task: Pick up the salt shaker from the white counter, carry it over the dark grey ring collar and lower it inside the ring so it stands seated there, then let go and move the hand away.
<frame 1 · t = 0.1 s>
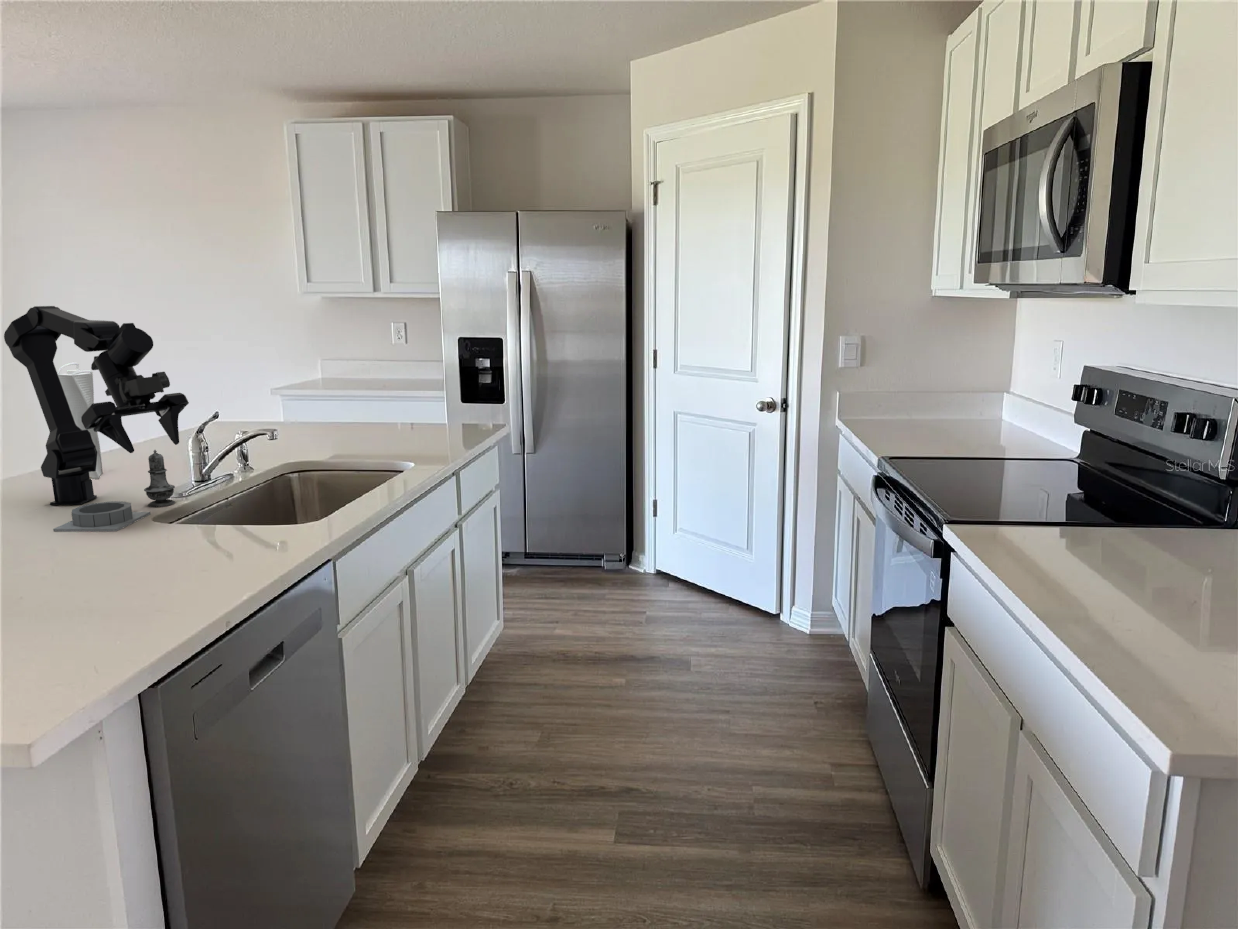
hand: (155, 447, 162), 15 cm above the countertop, tool tilted 35°, fingers open, 9 cm apart
collar: (103, 522, 164), on the countertop
salt shaker: (161, 505, 178), on the countertop
skyscraper: (87, 478, 203), on the countertop
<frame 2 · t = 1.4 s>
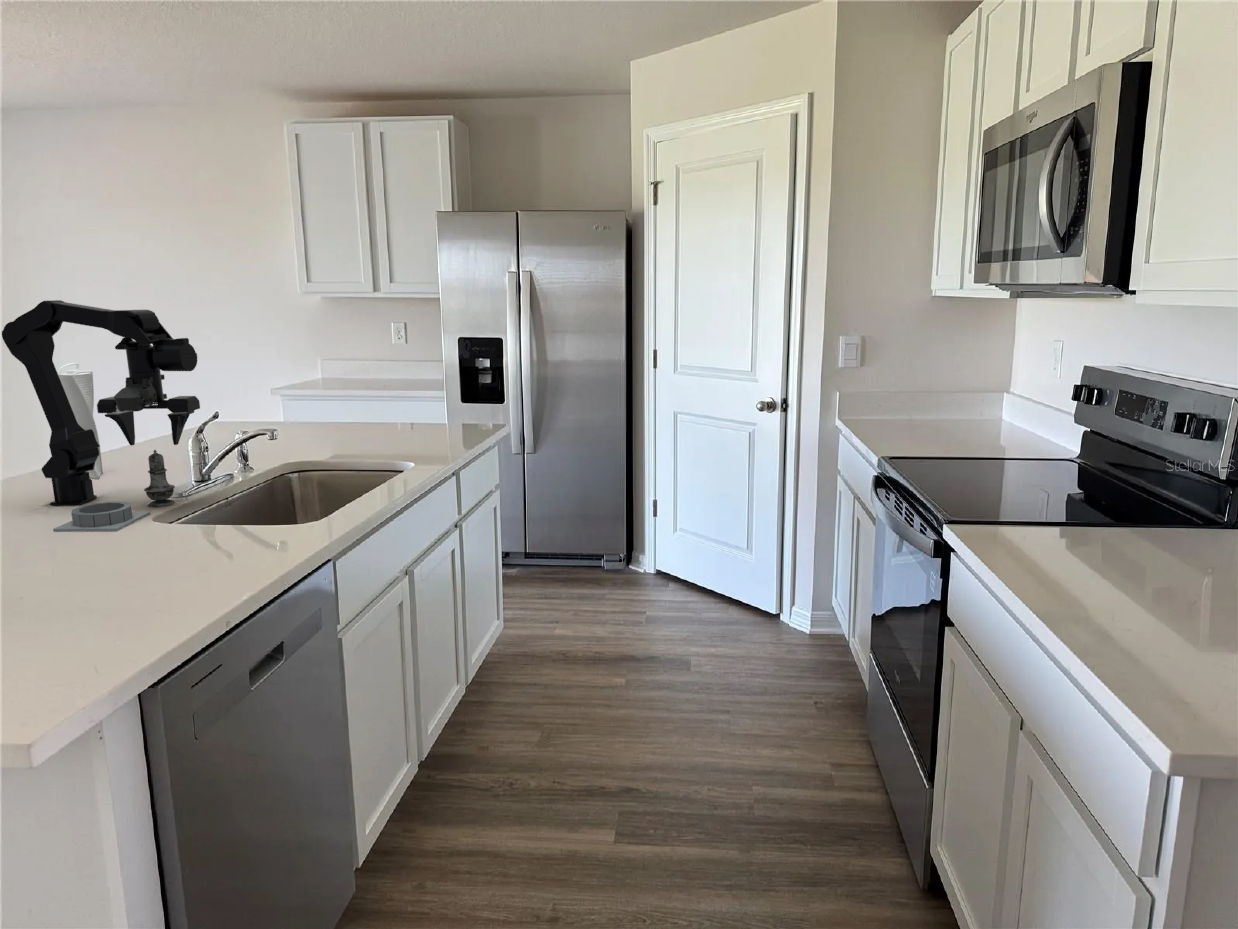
hand: (154, 444, 175), 13 cm above the countertop, tool pointing down, fingers open, 9 cm apart
nothing on the countertop moved.
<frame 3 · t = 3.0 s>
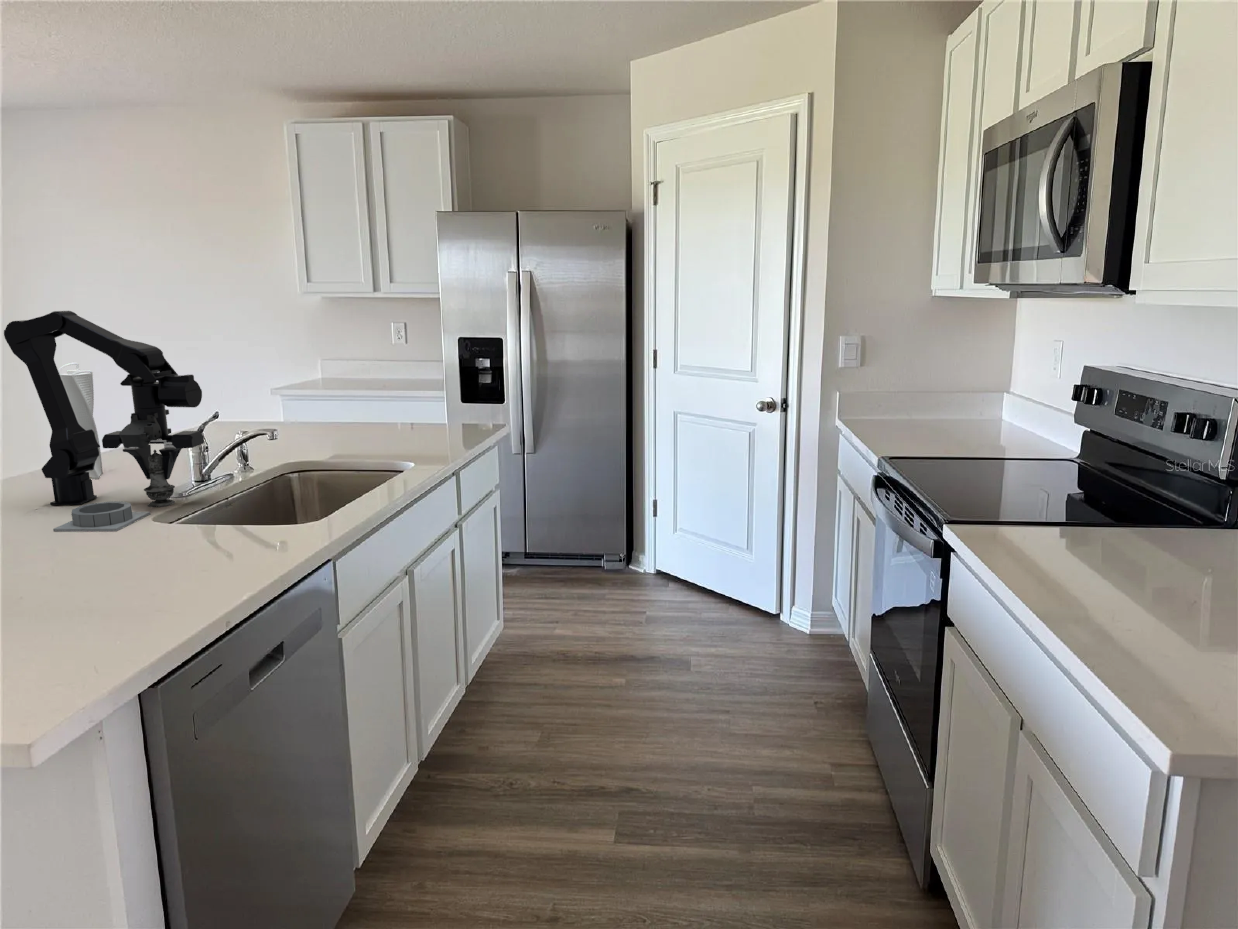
hand: (158, 479, 177), 6 cm above the countertop, tool pointing down, fingers closed on salt shaker, 3 cm apart
salt shaker: (161, 504, 178), on the countertop, touching gripper
everything else where it was.
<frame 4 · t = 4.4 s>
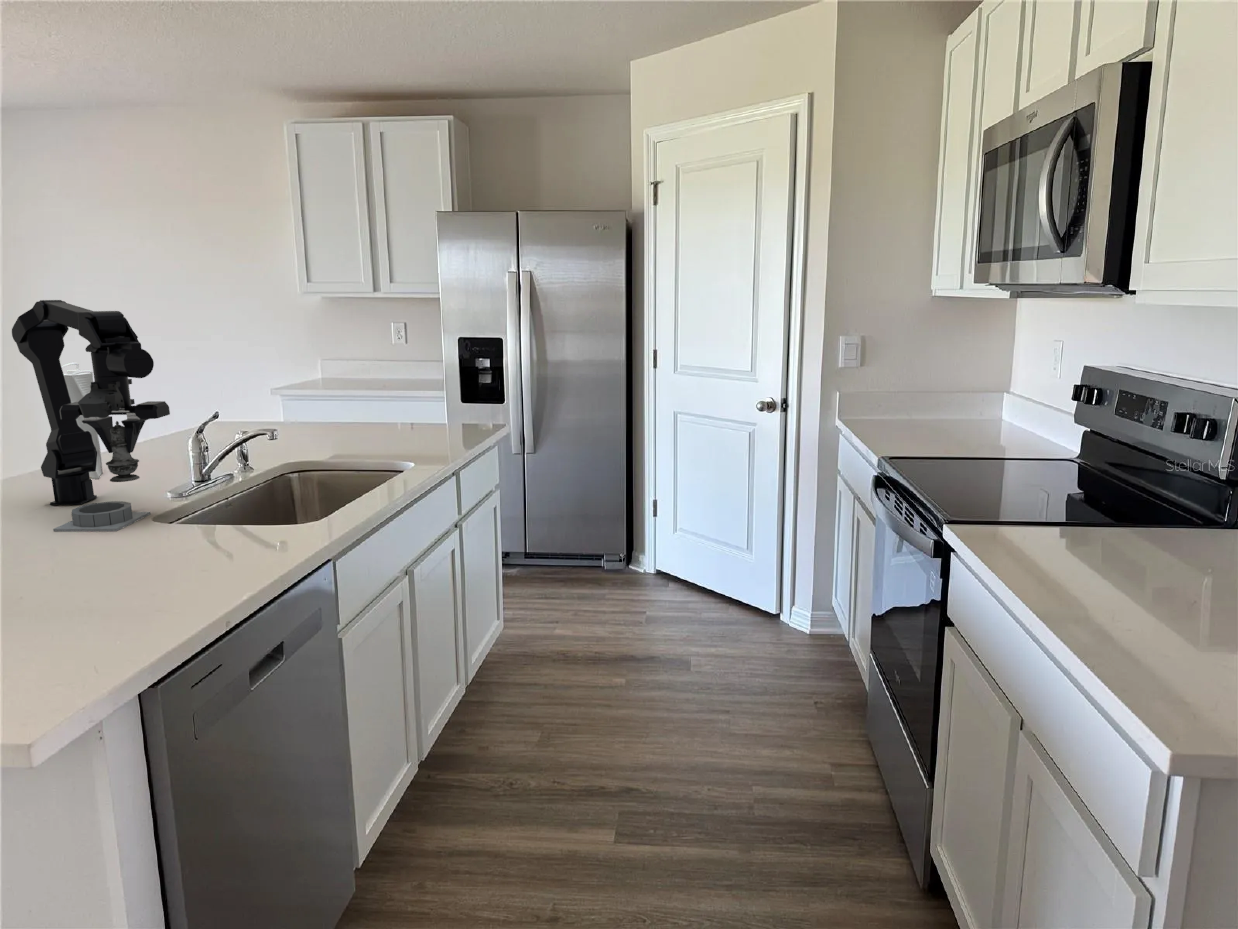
hand: (121, 452, 167), 13 cm above the countertop, tool pointing down, fingers closed on salt shaker, 3 cm apart
salt shaker: (124, 480, 168), point 7 cm above the countertop, touching gripper
everything else where it was.
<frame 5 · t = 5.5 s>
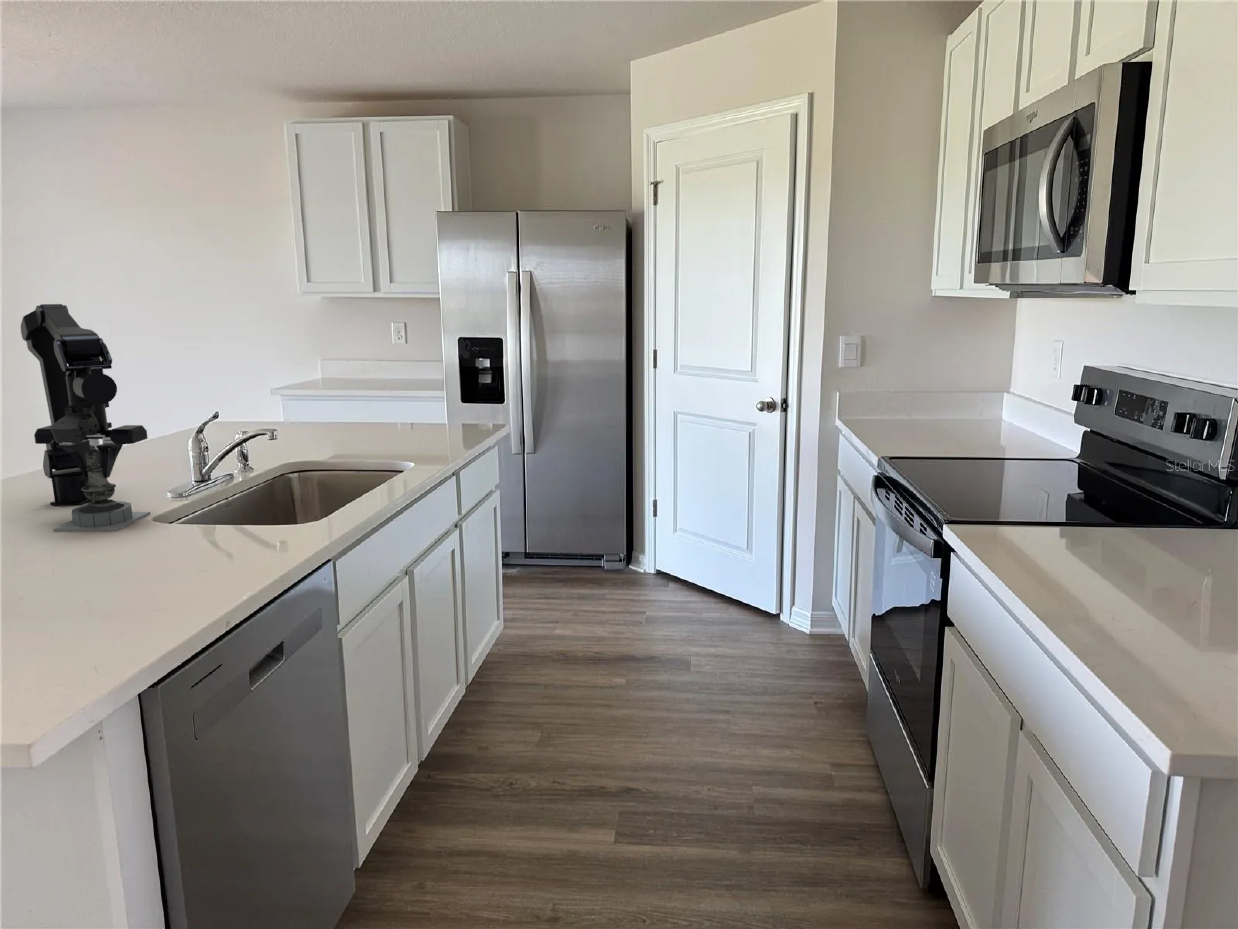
hand: (97, 477, 162), 9 cm above the countertop, tool pointing down, fingers closed on salt shaker, 3 cm apart
salt shaker: (101, 505, 164), point 3 cm above the countertop, touching gripper
everything else where it was.
when the fingers open (7 cm above the countertop, at t = 6.1 s): salt shaker stays where it is, resting on collar.
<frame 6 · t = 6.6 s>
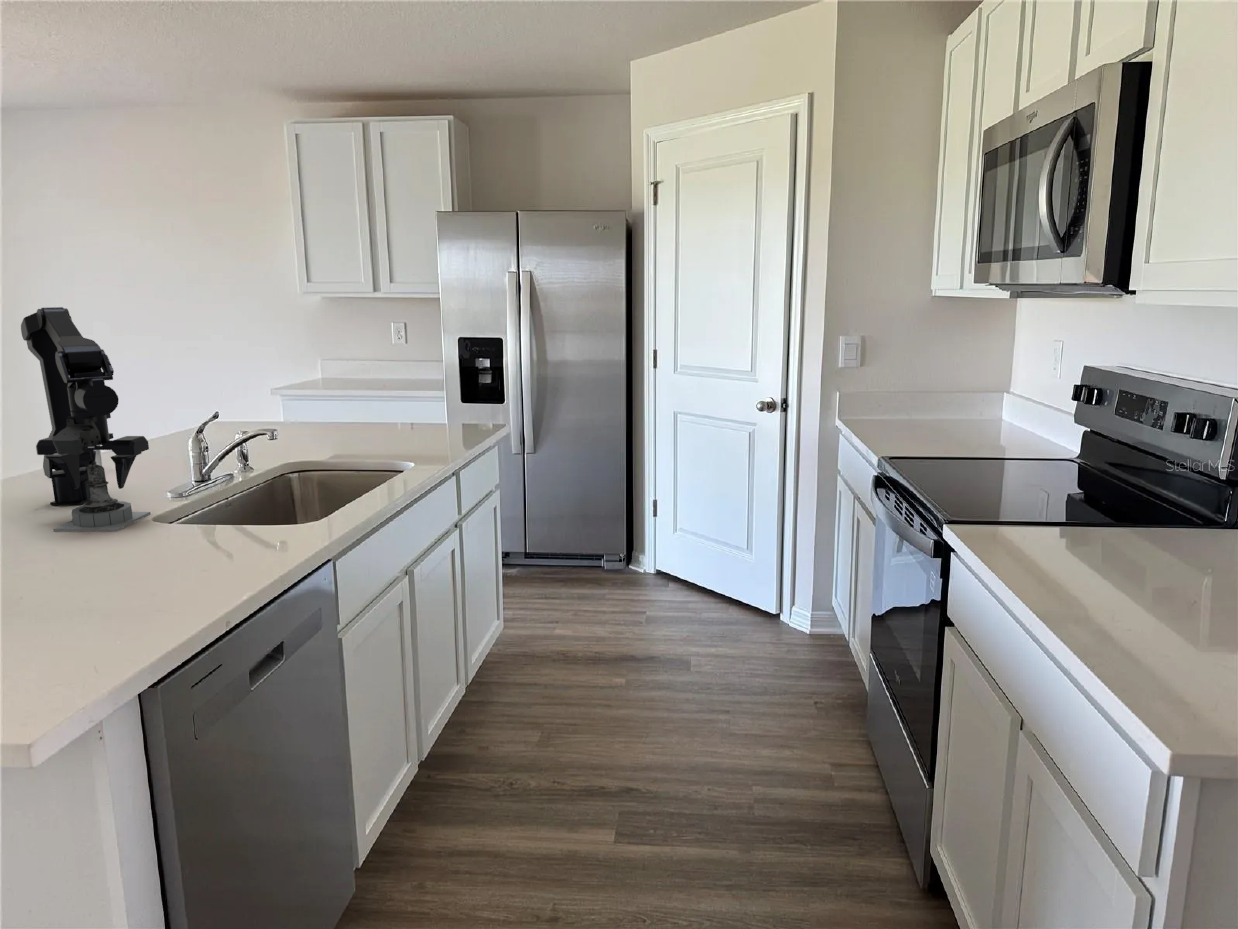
hand: (99, 488, 163), 7 cm above the countertop, tool pointing down, fingers open, 8 cm apart
salt shaker: (103, 520, 164), resting on collar
everything else where it was.
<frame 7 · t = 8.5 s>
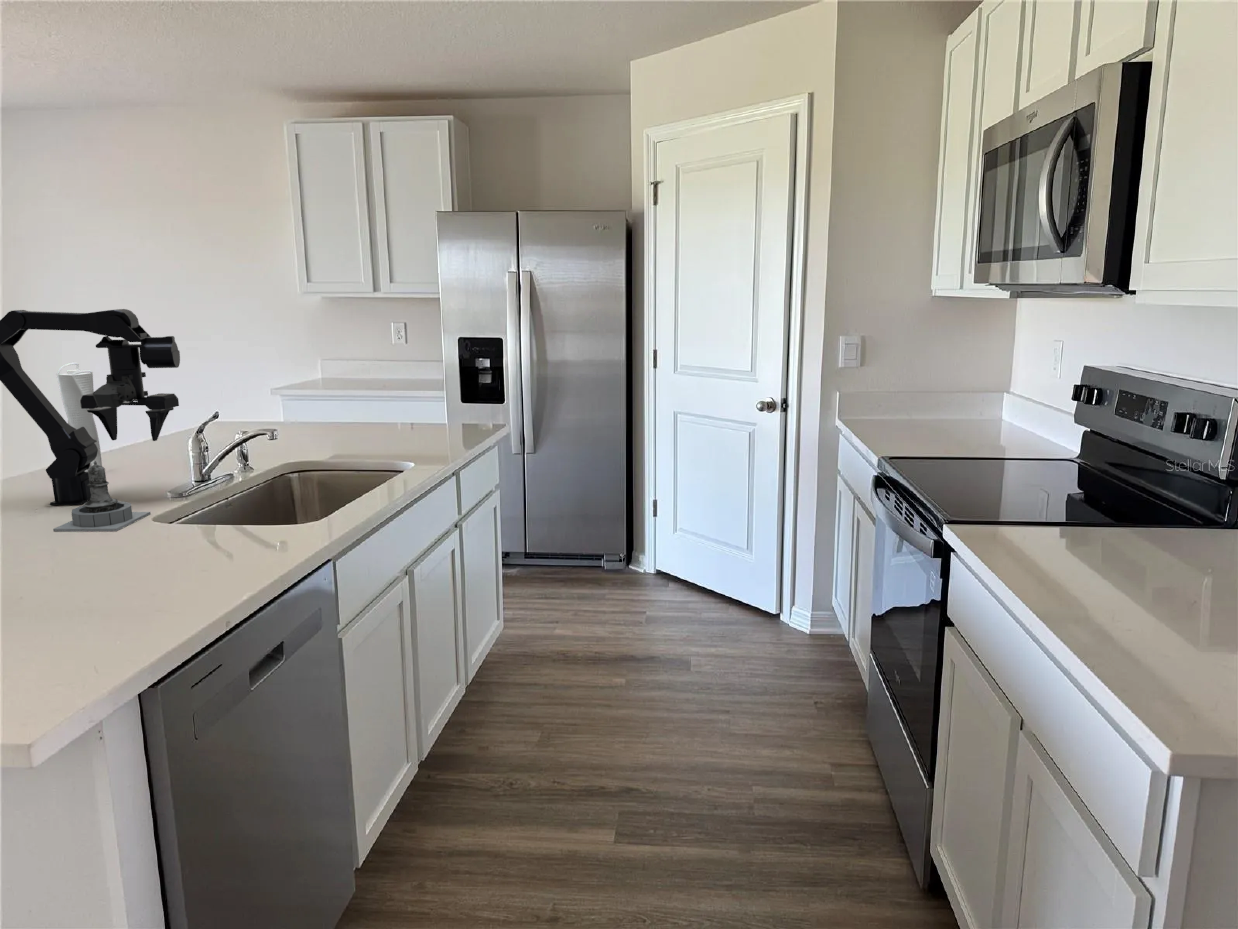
hand: (134, 440, 180), 13 cm above the countertop, tool pointing down, fingers open, 9 cm apart
nothing on the countertop moved.
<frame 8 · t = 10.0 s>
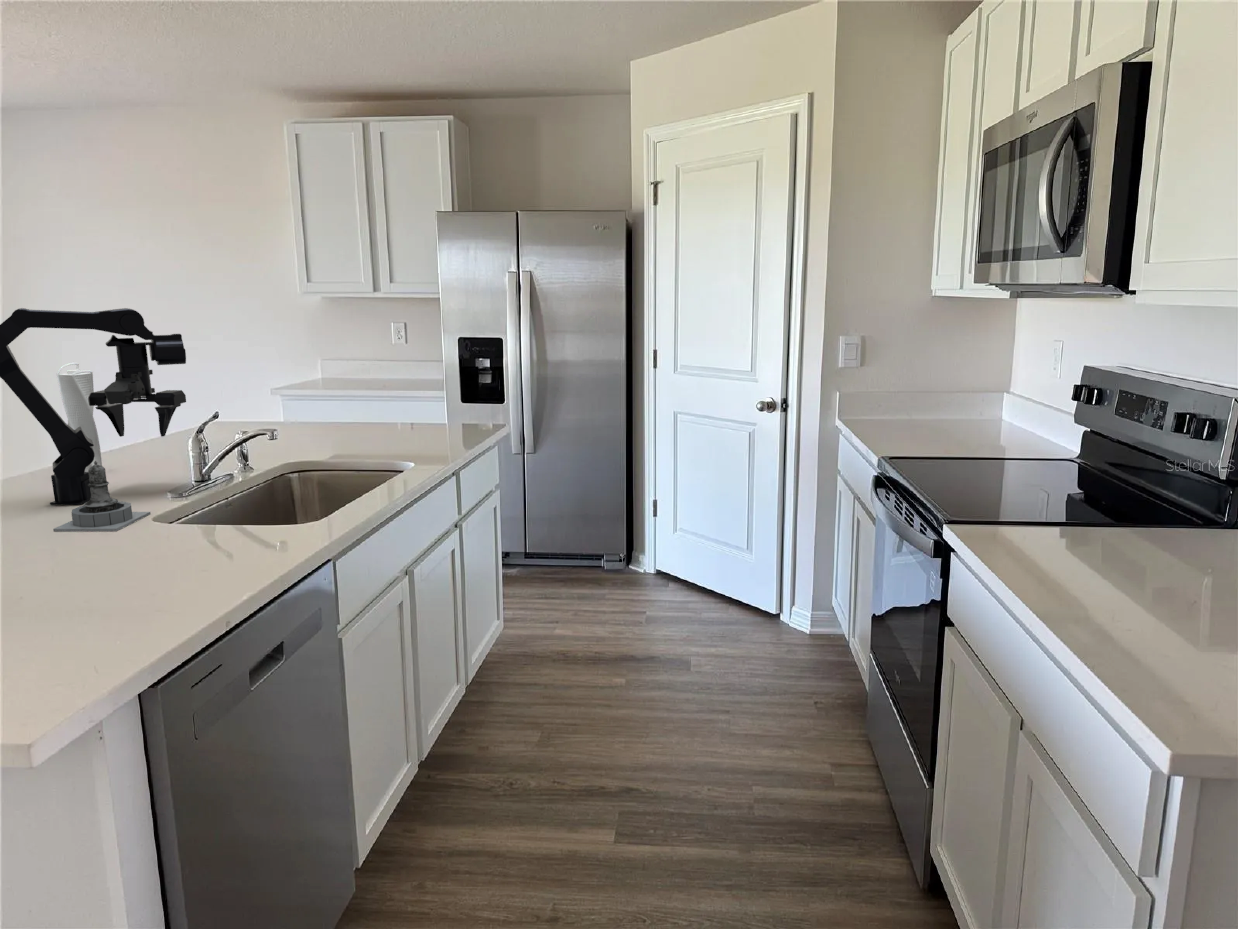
hand: (142, 436, 185), 13 cm above the countertop, tool pointing down, fingers open, 9 cm apart
nothing on the countertop moved.
at the end: salt shaker 0.1 cm from the collar (horizontally); salt shaker resting on collar; salt shaker tilted 0° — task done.
